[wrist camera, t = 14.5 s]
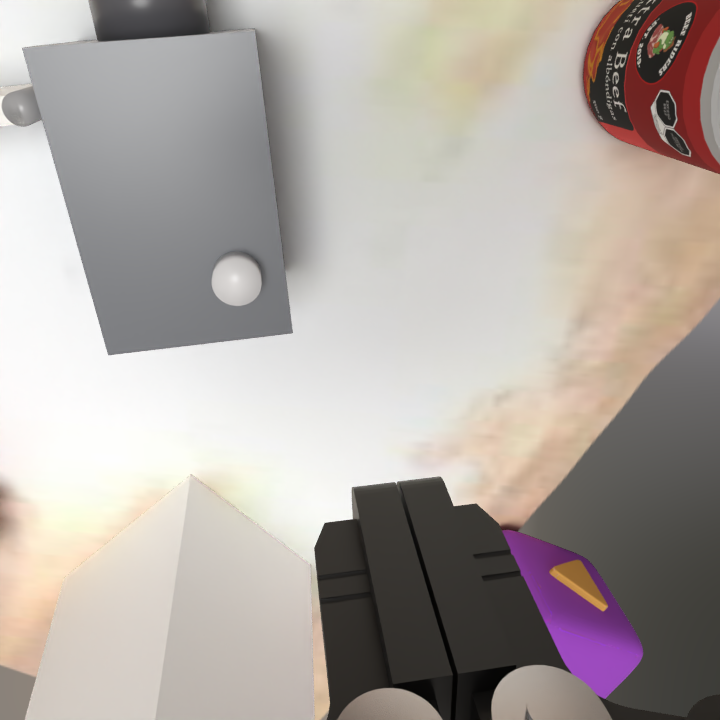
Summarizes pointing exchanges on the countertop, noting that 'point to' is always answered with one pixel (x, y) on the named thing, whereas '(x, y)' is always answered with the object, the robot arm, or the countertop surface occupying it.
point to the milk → (182, 622)
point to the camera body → (166, 175)
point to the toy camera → (578, 612)
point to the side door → (18, 105)
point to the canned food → (659, 77)
